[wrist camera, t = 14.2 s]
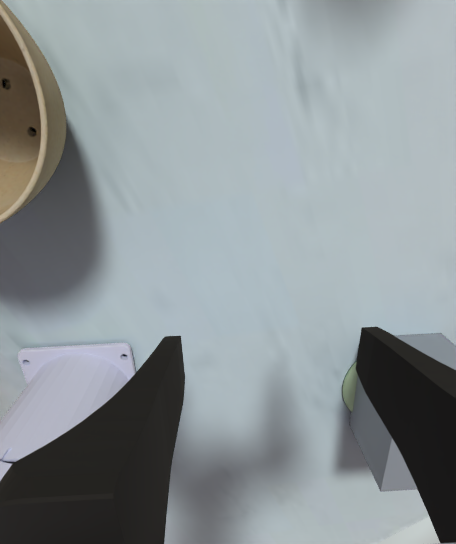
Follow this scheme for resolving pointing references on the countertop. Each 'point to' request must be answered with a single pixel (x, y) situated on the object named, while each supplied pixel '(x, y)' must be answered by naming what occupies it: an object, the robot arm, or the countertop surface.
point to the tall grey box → (373, 432)
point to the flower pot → (26, 117)
